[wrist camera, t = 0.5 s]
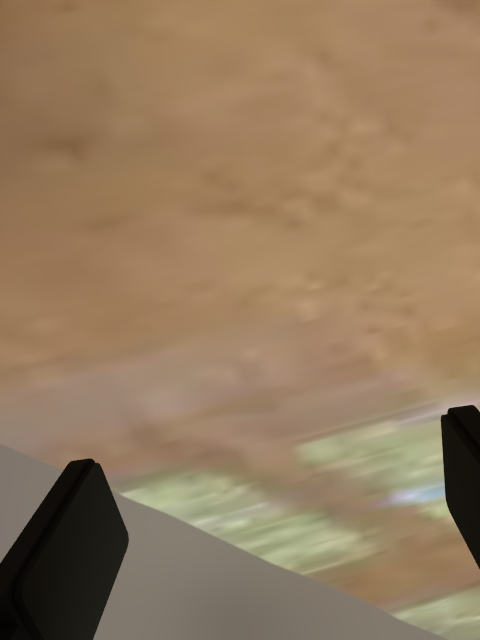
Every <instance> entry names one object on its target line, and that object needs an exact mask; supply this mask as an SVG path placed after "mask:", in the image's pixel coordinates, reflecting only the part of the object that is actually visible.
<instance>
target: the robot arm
mask: <svg viewBox="0 0 480 640" xmlns="http://www.w3.org/2000/svg"><path fill="white" fill-rule="evenodd" d="M441 429H442V446H443V462H444V479H445V495H446V502H447V505H448V508H449V511H450V513H451V515H452V517H453V519H454V521H455V523H456V525H457V527H458V529H459V531H460V532H461V534H462V536H463V538H464V540H465V542H466V544H467V546H468V548H469V550H470V552H471V553H472V555H473V557H474V559H475V561H476V563H477V565H478V567H479V569H480V412H479V410H478V409H477V408H476V407H475V406H474V405H468V406H461V407H454V408H449V409H448V412H447V414H446V415H442V416H441ZM128 541H129V538H128V532H127V530H126V527H125V525H124V522H123V520H122V517H121V515H120V512H119V510H118V507H117V505H116V502H115V500H114V497H113V495H112V492H111V490H110V487H109V485H108V482H107V480H106V477H105V475H104V472H103V470H102V467H101V465H100V464H99V463H95V461H94V460H93V459H83V460H76V461H71V462H70V463H69V464H68V465H67V466H66V468H65V469H64V471H63V472H62V474H61V475H60V477H59V478H58V480H57V481H56V482H55V484H54V486H53V487H52V488H51V490H50V491H49V493H48V494H47V496H46V497H45V499H44V500H43V502H42V503H41V504H40V506H39V508H38V509H37V510H36V512H35V513H34V515H33V516H32V518H31V519H30V521H29V522H28V524H27V525H26V526H25V528H24V529H23V531H22V532H21V534H20V535H19V537H18V538H17V540H16V541H15V543H14V544H13V546H12V547H11V549H10V550H9V551H8V553H7V554H6V556H5V558H4V559H3V560H2V562H1V563H0V640H93V638H94V635H95V632H96V630H97V627H98V624H99V622H100V619H101V616H102V614H103V611H104V608H105V606H106V603H107V600H108V598H109V595H110V592H111V590H112V587H113V585H114V582H115V579H116V577H117V573H118V571H119V569H120V566H121V563H122V561H123V558H124V555H125V553H126V550H127V547H128Z"/></svg>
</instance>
